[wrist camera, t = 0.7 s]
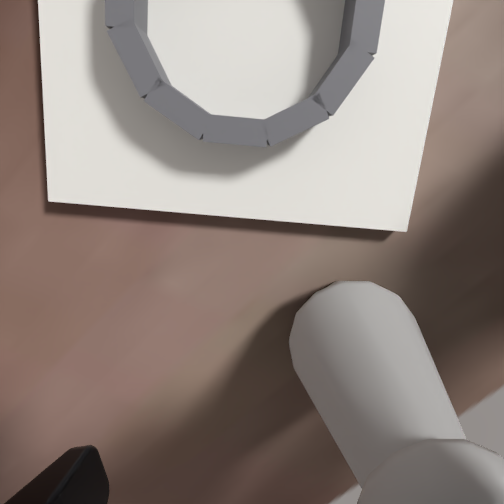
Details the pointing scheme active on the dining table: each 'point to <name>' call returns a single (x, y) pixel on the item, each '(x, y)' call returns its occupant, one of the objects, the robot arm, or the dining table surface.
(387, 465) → the salt shaker
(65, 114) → the ring holder
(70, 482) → the robot arm
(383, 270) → the dining table surface
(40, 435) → the dining table surface
